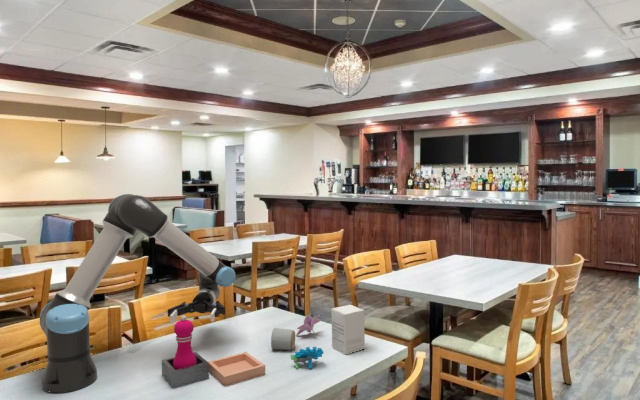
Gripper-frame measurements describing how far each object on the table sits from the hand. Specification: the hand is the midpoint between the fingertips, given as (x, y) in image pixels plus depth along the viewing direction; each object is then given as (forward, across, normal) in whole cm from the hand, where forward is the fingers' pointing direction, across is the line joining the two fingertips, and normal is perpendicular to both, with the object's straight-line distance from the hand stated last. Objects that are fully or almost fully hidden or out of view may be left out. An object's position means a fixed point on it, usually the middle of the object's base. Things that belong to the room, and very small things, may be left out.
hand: (191, 318), depth 153 cm
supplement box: (-10, -54, -17) cm, 58 cm away
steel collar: (+9, +1, -16) cm, 18 cm away
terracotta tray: (+7, -15, -16) cm, 23 cm away
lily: (-24, -40, -17) cm, 50 cm away
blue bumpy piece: (+4, -39, -17) cm, 42 cm away
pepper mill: (+9, +1, -16) cm, 19 cm away
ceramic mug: (-13, -30, -17) cm, 37 cm away
